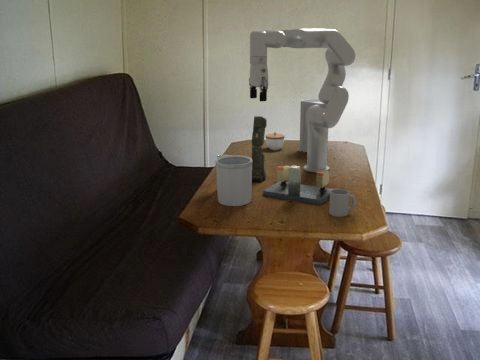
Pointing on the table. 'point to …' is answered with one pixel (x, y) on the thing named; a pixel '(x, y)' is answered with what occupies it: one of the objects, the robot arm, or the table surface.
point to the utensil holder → (234, 180)
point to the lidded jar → (275, 141)
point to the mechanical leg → (258, 149)
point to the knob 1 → (282, 174)
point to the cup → (340, 202)
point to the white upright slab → (303, 121)
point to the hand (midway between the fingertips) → (258, 99)
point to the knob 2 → (322, 179)
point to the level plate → (304, 195)
